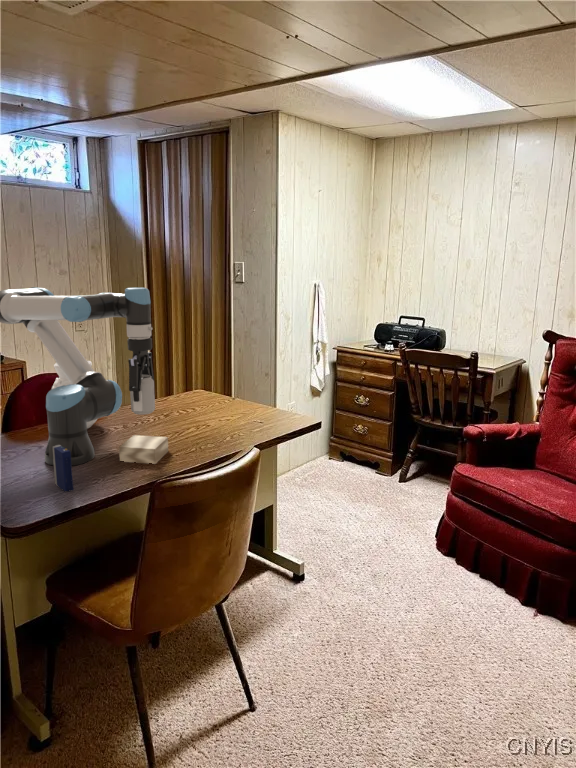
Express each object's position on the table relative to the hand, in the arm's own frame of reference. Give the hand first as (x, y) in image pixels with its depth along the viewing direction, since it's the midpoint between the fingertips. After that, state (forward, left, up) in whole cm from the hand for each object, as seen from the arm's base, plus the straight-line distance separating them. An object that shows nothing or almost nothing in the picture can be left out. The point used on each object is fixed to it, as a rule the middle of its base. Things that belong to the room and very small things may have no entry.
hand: (143, 407), depth 184 cm
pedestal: (0, 0, -17) cm, 17 cm away
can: (0, 0, -2) cm, 2 cm away
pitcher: (-37, +26, -17) cm, 49 cm away
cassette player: (-13, -28, -17) cm, 35 cm away
